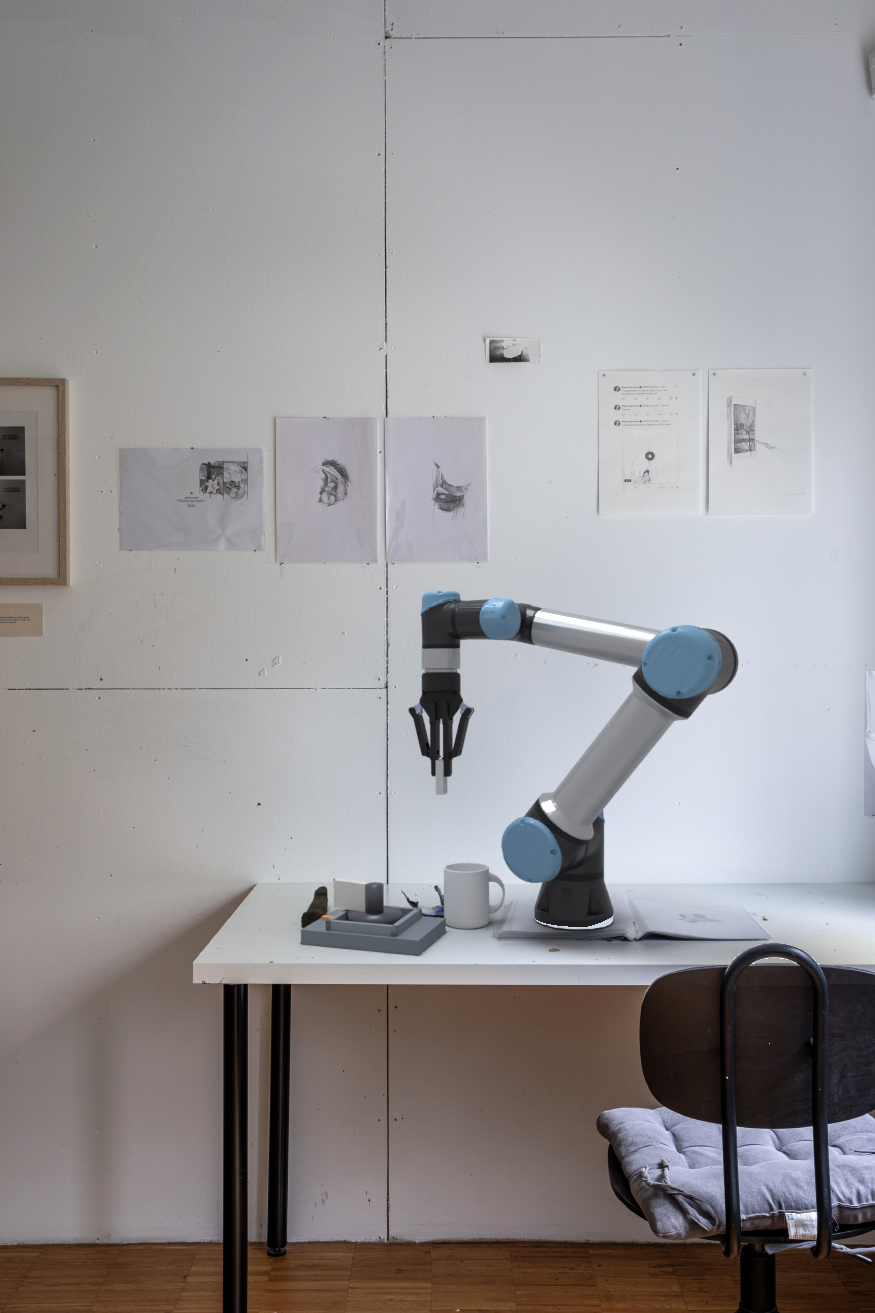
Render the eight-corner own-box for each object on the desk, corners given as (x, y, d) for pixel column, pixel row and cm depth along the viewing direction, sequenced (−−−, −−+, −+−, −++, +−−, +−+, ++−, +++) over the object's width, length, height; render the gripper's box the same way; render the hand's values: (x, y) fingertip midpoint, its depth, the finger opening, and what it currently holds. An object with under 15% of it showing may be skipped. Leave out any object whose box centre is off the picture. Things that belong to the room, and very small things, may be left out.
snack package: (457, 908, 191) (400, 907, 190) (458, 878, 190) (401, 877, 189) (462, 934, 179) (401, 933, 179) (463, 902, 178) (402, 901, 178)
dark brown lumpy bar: (322, 932, 173) (322, 907, 173) (300, 932, 173) (300, 907, 173) (337, 907, 192) (337, 884, 192) (317, 906, 192) (318, 884, 192)
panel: (445, 932, 172) (445, 909, 172) (418, 955, 158) (418, 930, 158) (336, 922, 179) (336, 900, 179) (300, 944, 165) (300, 920, 165)
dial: (411, 919, 170) (411, 882, 170) (381, 932, 162) (381, 893, 162) (352, 910, 177) (352, 874, 177) (320, 922, 169) (320, 884, 169)
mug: (512, 926, 176) (512, 869, 176) (451, 931, 172) (450, 873, 173) (498, 915, 184) (497, 860, 184) (439, 919, 181) (438, 864, 181)
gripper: (478, 671, 182) (479, 792, 181) (415, 671, 186) (416, 790, 186) (467, 671, 175) (468, 797, 174) (402, 671, 179) (403, 795, 178)
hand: (441, 793), depth 180 cm, fingers closed
